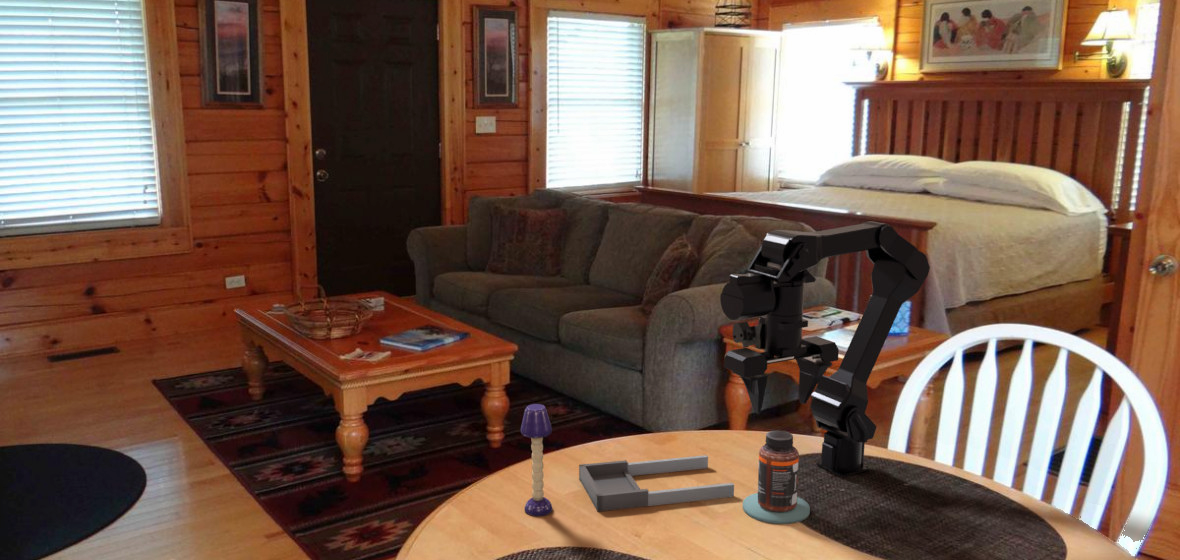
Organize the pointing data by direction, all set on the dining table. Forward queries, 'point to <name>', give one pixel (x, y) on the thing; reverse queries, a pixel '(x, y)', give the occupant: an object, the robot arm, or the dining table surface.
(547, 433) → the toy lamp
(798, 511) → the pad
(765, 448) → the supplement bottle
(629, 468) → the trap channel
